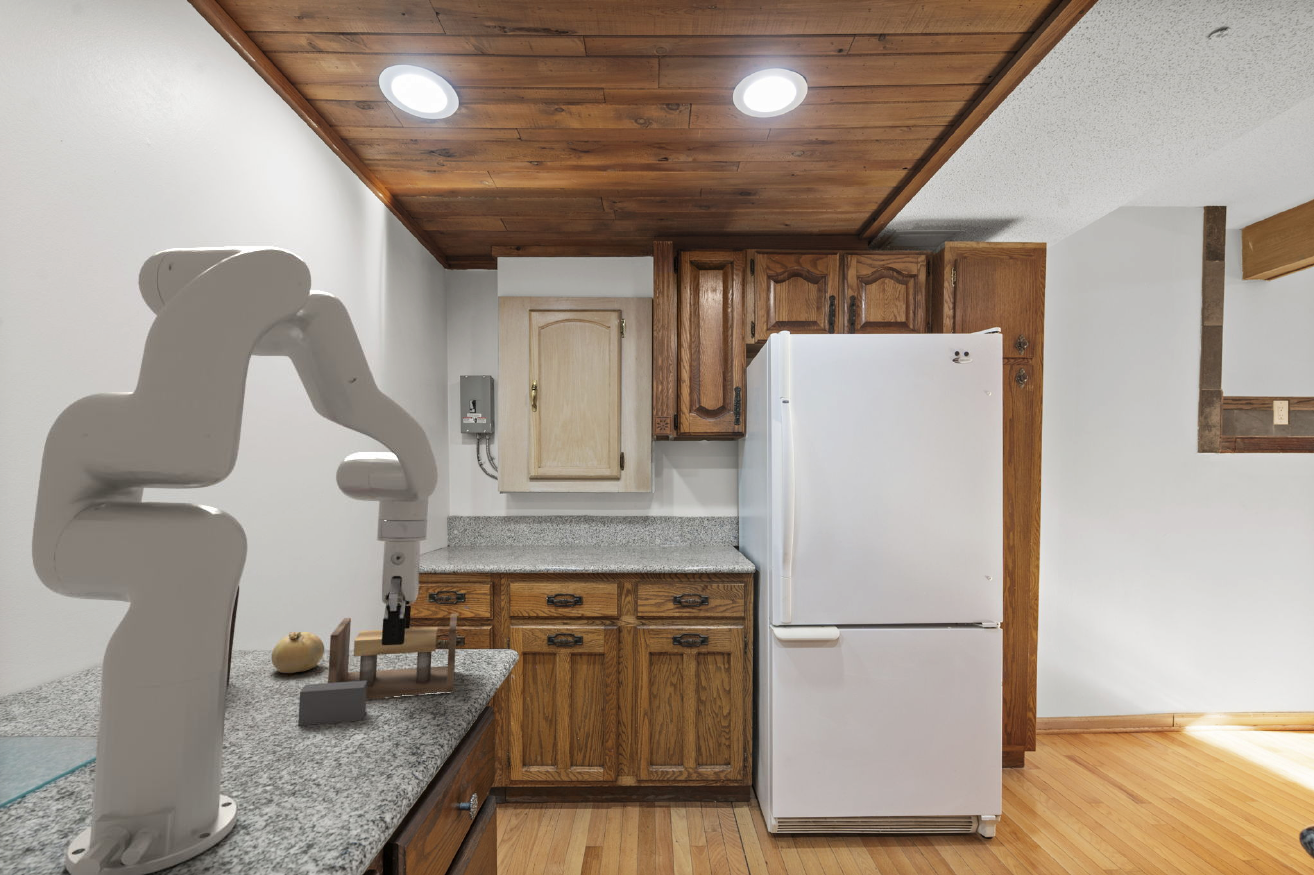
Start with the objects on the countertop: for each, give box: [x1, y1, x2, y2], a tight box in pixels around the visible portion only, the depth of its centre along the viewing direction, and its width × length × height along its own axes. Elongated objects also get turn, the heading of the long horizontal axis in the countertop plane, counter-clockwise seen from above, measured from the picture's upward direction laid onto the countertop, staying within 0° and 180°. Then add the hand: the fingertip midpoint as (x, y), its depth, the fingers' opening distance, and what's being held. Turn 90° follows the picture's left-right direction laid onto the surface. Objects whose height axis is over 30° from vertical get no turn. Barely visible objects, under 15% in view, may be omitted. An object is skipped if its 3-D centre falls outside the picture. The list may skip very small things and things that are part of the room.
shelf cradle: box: [327, 613, 458, 701], centre depth 101 cm, size 11×18×10 cm, turn 107°
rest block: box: [297, 680, 367, 727], centre depth 87 cm, size 3×8×4 cm, turn 107°
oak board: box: [353, 626, 439, 657], centre depth 101 cm, size 6×12×2 cm, turn 107°
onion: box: [271, 631, 326, 674], centre depth 107 cm, size 8×8×7 cm
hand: (396, 636), depth 101 cm, fingers open, 9 cm apart
